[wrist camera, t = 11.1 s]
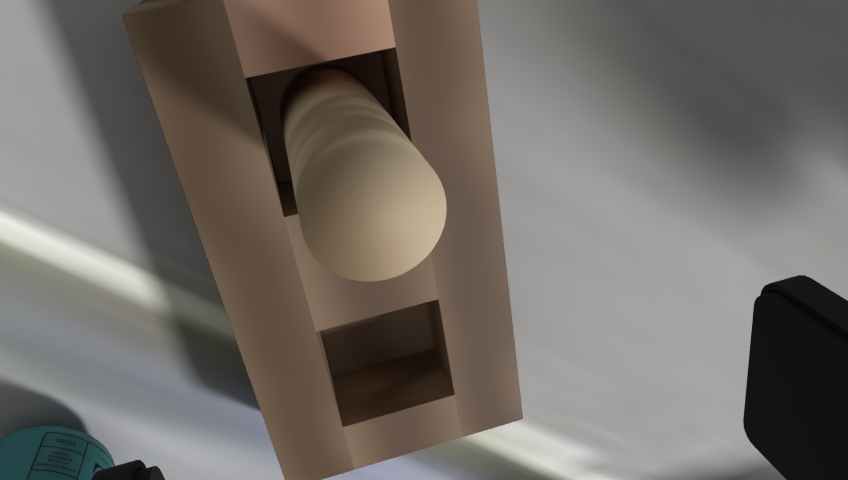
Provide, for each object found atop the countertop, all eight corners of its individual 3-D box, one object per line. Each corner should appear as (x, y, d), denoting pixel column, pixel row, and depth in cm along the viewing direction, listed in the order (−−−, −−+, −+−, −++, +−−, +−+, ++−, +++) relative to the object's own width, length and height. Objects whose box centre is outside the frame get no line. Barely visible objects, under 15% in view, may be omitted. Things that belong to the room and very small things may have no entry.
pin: (363, 56, 28) (435, 129, 17) (380, 146, 29) (454, 262, 19) (269, 74, 27) (283, 162, 16) (291, 165, 29) (318, 296, 18)
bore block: (435, -54, 27) (471, -51, 23) (490, 361, 37) (522, 418, 33) (143, 0, 26) (121, 15, 21) (283, 420, 36) (288, 489, 31)
